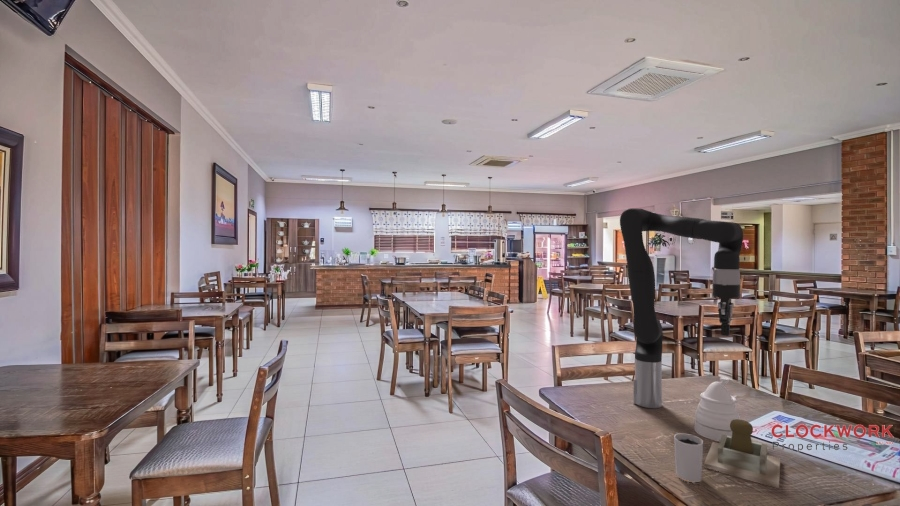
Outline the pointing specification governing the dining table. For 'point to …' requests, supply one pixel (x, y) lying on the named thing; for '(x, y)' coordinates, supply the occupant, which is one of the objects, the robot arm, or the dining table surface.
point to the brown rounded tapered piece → (741, 436)
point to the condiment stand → (744, 462)
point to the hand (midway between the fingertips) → (725, 335)
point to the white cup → (688, 456)
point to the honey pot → (716, 411)
